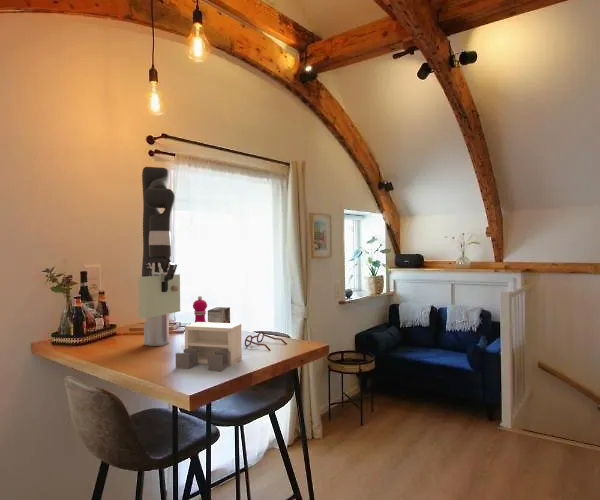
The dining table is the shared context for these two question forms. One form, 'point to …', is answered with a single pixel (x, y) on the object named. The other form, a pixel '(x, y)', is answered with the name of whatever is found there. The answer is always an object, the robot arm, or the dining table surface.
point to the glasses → (261, 340)
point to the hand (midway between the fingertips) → (160, 291)
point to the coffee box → (219, 315)
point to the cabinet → (211, 345)
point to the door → (158, 296)
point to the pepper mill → (200, 309)
